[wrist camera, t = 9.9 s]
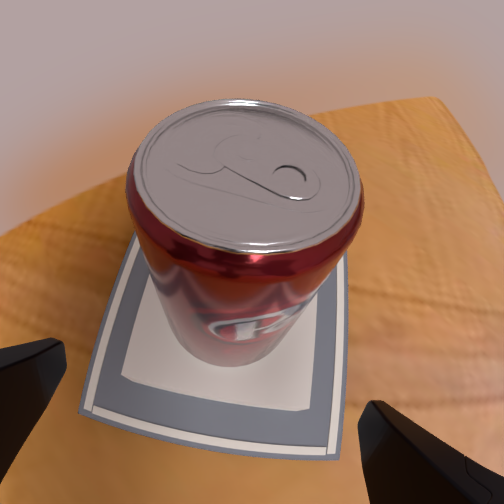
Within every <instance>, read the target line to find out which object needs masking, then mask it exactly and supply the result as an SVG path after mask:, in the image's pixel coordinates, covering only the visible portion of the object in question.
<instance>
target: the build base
mask: <svg viewBox="0 0 504 504" xmlns="http://www.w3.org/2000/svg"><path fill="white" fill-rule="evenodd" d="M347 354H348V266H347V250H346V252H345V253H344V255H343V256H342V258H341V259H340V261H339V262H338V263H337V265H336V266H335V268H334V269H333V271H332V272H331V274H330V275H329V277H328V278H327V279H326V281H325V282H324V284H323V285H322V286H321V288H320V289H319V291H318V292H317V293H316V295H315V296H314V298H313V299H312V300H311V302H310V303H309V305H308V306H307V307H306V309H305V310H304V311H303V313H302V314H301V315H300V317H299V318H298V319H297V321H296V322H295V323H294V325H293V326H292V327H291V329H290V330H289V331H288V333H287V334H286V335H285V337H284V338H283V339H282V341H281V342H280V343H279V344H278V346H277V347H276V348H275V349H274V350H273V351H272V352H271V353H270V354H268V355H267V356H265V357H264V358H262V359H260V360H259V361H256V362H254V363H251V364H249V365H245V366H239V367H220V366H216V365H211V364H208V363H206V362H204V361H201V360H199V359H197V358H196V357H194V356H193V355H191V354H190V353H189V352H187V351H186V350H185V349H184V348H183V346H182V345H181V344H180V343H179V342H178V341H177V339H176V337H175V335H174V334H173V332H172V330H171V327H170V325H169V323H168V320H167V318H166V315H165V313H164V310H163V308H162V305H161V302H160V300H159V297H158V295H157V292H156V289H155V287H154V284H153V281H152V278H151V276H150V273H149V270H148V267H147V264H146V262H145V259H144V256H143V253H142V250H141V247H140V244H139V241H138V238H137V235H136V232H135V231H134V234H133V236H132V239H131V241H130V243H129V246H128V249H127V251H126V254H125V256H124V259H123V261H122V264H121V267H120V269H119V272H118V275H117V278H116V280H115V283H114V286H113V289H112V292H111V295H110V298H109V300H108V303H107V306H106V310H105V313H104V316H103V319H102V322H101V325H100V329H99V332H98V335H97V339H96V342H95V345H94V349H93V353H92V356H91V360H90V364H89V367H88V371H87V375H86V379H85V383H84V388H83V392H82V396H81V401H80V405H79V410H78V414H81V415H83V416H86V417H89V418H91V419H94V420H97V421H99V422H102V423H105V424H108V425H111V426H114V427H117V428H120V429H123V430H126V431H130V432H133V433H136V434H140V435H143V436H147V437H151V438H154V439H158V440H162V441H166V442H170V443H175V444H179V445H184V446H188V447H193V448H198V449H204V450H209V451H215V452H222V453H228V454H235V455H243V456H252V457H262V458H274V459H289V460H339V458H340V449H341V440H342V431H343V420H344V408H345V394H346V377H347Z"/></svg>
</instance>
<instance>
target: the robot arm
mask: <svg viewBox="0 0 504 504" xmlns="http://www.w3.org/2000/svg"><path fill="white" fill-rule="evenodd" d="M66 368H67V362H66V354H65V346H64V343H63V342H62V341H60V340H58V339H55V338H47V339H42V340H38V341H34V342H29V343H25V344H20V345H16V346H11V347H6V348H2V349H0V484H1V482H2V480H3V478H4V476H5V475H6V473H7V471H8V469H9V468H10V466H11V464H12V462H13V461H14V459H15V457H16V456H17V454H18V452H19V451H20V449H21V447H22V446H23V444H24V442H25V441H26V439H27V437H28V436H29V434H30V433H31V431H32V429H33V428H34V426H35V425H36V423H37V422H38V420H39V419H40V417H41V415H42V414H43V412H44V411H45V409H46V408H47V406H48V404H49V402H50V400H51V398H52V396H53V394H54V392H55V390H56V388H57V387H58V385H59V383H60V381H61V379H62V377H63V375H64V373H65V371H66ZM358 435H359V443H360V452H361V461H362V469H363V474H364V478H365V483H366V487H367V492H368V496H369V501H370V504H504V477H503V476H501V475H499V474H497V473H495V472H493V471H491V470H489V469H487V468H485V467H483V466H482V465H480V464H478V463H477V462H475V461H473V460H472V459H470V458H468V457H467V456H465V457H464V454H462V453H460V452H459V451H457V450H456V449H454V448H453V447H451V446H449V445H448V444H446V443H445V442H443V441H442V440H440V439H439V438H437V437H436V436H434V435H433V434H431V433H429V432H428V431H426V430H425V429H423V428H422V427H420V426H419V425H417V424H416V423H415V422H413V421H412V420H410V419H409V418H407V417H406V416H404V415H403V414H401V413H400V412H398V411H397V410H395V409H394V408H393V407H391V406H390V405H388V404H387V403H385V402H384V401H381V400H371V401H369V402H368V403H367V405H366V407H365V409H364V411H363V413H362V415H361V417H360V419H359V422H358Z"/></svg>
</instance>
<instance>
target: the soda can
mask: <svg viewBox="0 0 504 504" xmlns="http://www.w3.org/2000/svg"><path fill="white" fill-rule="evenodd" d="M125 193H126V198H127V203H128V208H129V212H130V215H131V219H132V222H133V225H134V228H135V232H136V235H137V238H138V241H139V244H140V247H141V250H142V253H143V256H144V259H145V262H146V264H147V267H148V270H149V273H150V276H151V278H152V281H153V284H154V287H155V289H156V292H157V295H158V297H159V300H160V302H161V305H162V308H163V310H164V313H165V315H166V318H167V320H168V323H169V325H170V327H171V330H172V332H173V334H174V335H175V337H176V339H177V341H178V342H179V343H180V344H181V345H182V346H183V348H184V349H185V350H186V351H187V352H189V353H190V354H191V355H193V356H194V357H196V358H197V359H199V360H201V361H204V362H206V363H208V364H211V365H216V366H220V367H239V366H245V365H249V364H251V363H254V362H256V361H259V360H260V359H262V358H264V357H265V356H267V355H268V354H270V353H271V352H272V351H273V350H274V349H275V348H276V347H277V346H278V344H279V343H280V342H281V341H282V339H283V338H284V337H285V335H286V334H287V333H288V331H289V330H290V329H291V327H292V326H293V325H294V323H295V322H296V321H297V319H298V318H299V317H300V315H301V314H302V313H303V311H304V310H305V309H306V307H307V306H308V305H309V303H310V302H311V300H312V299H313V298H314V296H315V295H316V293H317V292H318V291H319V289H320V288H321V286H322V285H323V284H324V282H325V281H326V279H327V278H328V277H329V275H330V274H331V272H332V271H333V269H334V268H335V266H336V265H337V263H338V262H339V261H340V259H341V258H342V256H343V255H344V253H345V252H346V250H347V249H348V247H349V246H350V244H351V243H352V241H353V239H354V237H355V235H356V233H357V232H358V230H359V228H360V226H361V222H362V217H363V212H364V203H365V202H364V190H363V184H362V181H361V178H360V175H359V172H358V169H357V166H356V164H355V161H354V159H353V157H352V156H351V154H350V153H349V151H348V149H347V148H346V146H345V145H344V144H343V143H342V142H341V141H340V140H339V139H338V137H337V136H336V135H335V134H333V133H332V132H331V131H330V130H328V129H327V128H326V127H325V126H324V125H322V124H321V123H319V122H317V121H316V120H314V119H312V118H311V117H309V116H307V115H305V114H303V113H300V112H298V111H296V110H294V109H291V108H288V107H285V106H282V105H278V104H275V103H270V102H265V101H260V100H251V99H221V100H213V101H207V102H203V103H199V104H196V105H192V106H189V107H186V108H185V109H182V110H180V111H177V112H175V113H173V114H172V115H170V116H168V117H167V118H165V119H164V120H162V121H161V122H160V123H159V124H158V125H156V126H155V127H154V128H153V129H152V130H151V131H150V132H149V133H148V135H147V136H146V137H145V139H144V140H143V142H142V143H141V144H140V146H139V148H138V149H137V150H136V152H135V153H134V155H133V158H132V160H131V163H130V166H129V168H128V172H127V178H126V189H125Z"/></svg>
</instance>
